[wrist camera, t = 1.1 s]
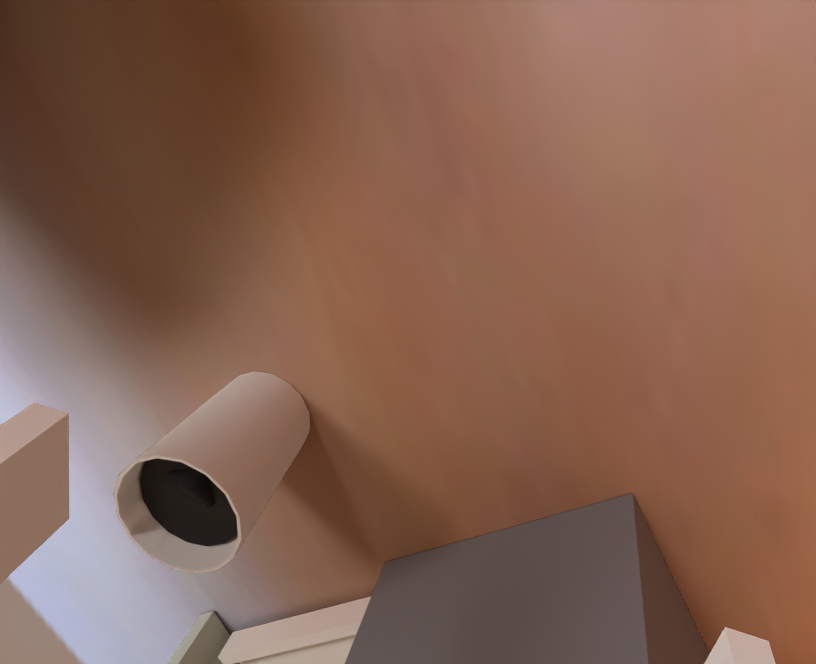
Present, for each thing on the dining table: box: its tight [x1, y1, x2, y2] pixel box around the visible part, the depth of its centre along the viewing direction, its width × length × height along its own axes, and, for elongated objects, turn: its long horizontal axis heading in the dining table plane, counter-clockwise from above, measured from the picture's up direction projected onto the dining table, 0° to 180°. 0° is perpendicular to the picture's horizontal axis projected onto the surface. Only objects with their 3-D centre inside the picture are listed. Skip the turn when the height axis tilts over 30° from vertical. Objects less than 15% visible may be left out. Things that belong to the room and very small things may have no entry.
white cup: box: [114, 371, 310, 573], centre depth 37 cm, size 7×7×10 cm
